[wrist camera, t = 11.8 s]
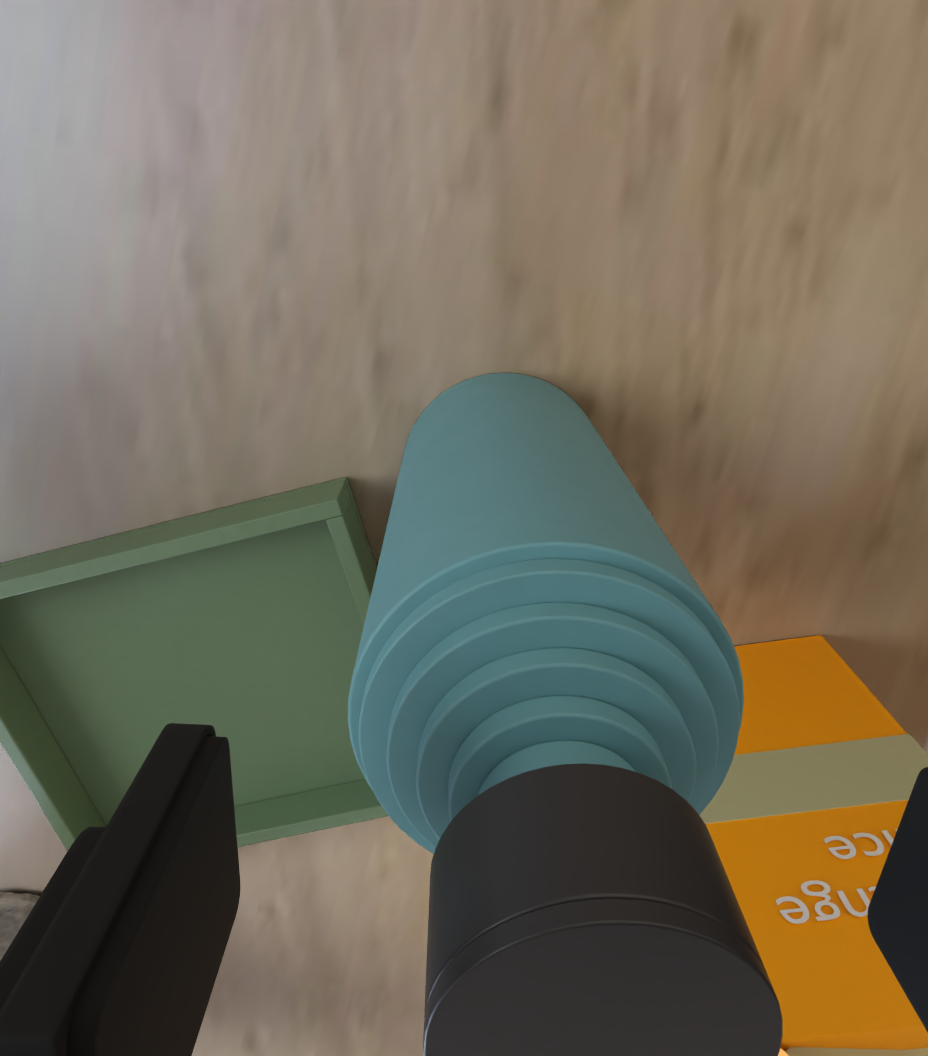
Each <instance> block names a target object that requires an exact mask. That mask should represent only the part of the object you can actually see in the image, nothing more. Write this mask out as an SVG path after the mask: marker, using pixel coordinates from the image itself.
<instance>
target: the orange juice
mask: <svg viewBox="0 0 928 1056" xmlns="http://www.w3.org/2000/svg"><path fill="white" fill-rule="evenodd" d="M734 648H735V650H736V653H737V655H738V658H739V663H740V668H741V672H742V677H743V691H744V705H743V714H742V723H741V727H740V731H739V735H738V742H737V746H736V750H735V753H734V757H733V761H732V764H731V766H730V768H729V770H728V773H727V775H726V777H725V779H724V782H723V783H722V785H721V786H720V788H719V790H718V791H717V793H716V794H715V796H714V798H713V799H712V800H711V802H710V803H709V804H708V805H707V807H706V808H705V809H704V810H703V812H702V813H701V814H700V817H701V818H702V820H703V821H704V823H705V824H706V826H707V829H708V831H709V833H710V835H711V838H712V840H713V842H714V845H715V847H716V850H717V852H718V855H719V857H720V860H721V862H722V864H723V867H724V869H725V872H726V874H727V877H728V879H729V881H730V884H731V886H732V889H733V891H734V894H735V896H736V899H737V901H738V903H739V906H740V908H741V911H742V913H743V916H744V918H745V920H746V923H747V925H748V928H749V930H750V933H751V935H752V938H753V940H754V942H755V945H756V947H757V950H758V952H759V955H760V957H761V959H762V962H763V964H764V967H765V969H766V972H767V974H768V977H769V979H770V981H771V984H772V986H773V989H774V991H775V994H776V996H777V998H778V1001H779V1004H780V1009H781V1013H782V1018H783V1037H782V1042H781V1047H780V1052H779V1054H778V1056H928V1032H927V1031H926V1029H925V1027H924V1025H923V1024H922V1022H921V1020H920V1018H919V1017H918V1015H917V1013H916V1012H915V1010H914V1008H913V1006H912V1005H911V1003H910V1001H909V999H908V998H907V996H906V994H905V992H904V991H903V989H902V987H901V986H900V984H899V982H898V980H897V979H896V977H895V975H894V973H893V972H892V970H891V968H890V966H889V965H888V963H887V961H886V960H885V958H884V956H883V954H882V953H881V951H880V949H879V947H878V946H877V944H876V942H875V941H874V939H873V936H872V934H871V932H870V928H869V925H868V907H869V904H870V901H871V899H872V896H873V893H874V891H875V888H876V885H877V883H878V880H879V877H880V875H881V872H882V869H883V867H884V864H885V861H886V859H887V856H888V853H889V851H890V848H891V845H892V843H893V840H894V837H895V835H896V832H897V829H898V827H899V824H900V821H901V819H902V816H903V813H904V811H905V808H906V805H907V803H908V800H909V797H910V795H911V792H912V789H913V787H914V784H915V782H916V779H917V776H918V774H919V772H920V771H921V770H922V769H923V768H925V767H928V754H927V753H926V752H925V751H924V749H923V748H922V747H921V746H920V745H919V744H918V743H917V742H916V740H915V739H914V738H913V737H912V736H911V735H910V734H907V733H906V732H905V731H904V729H903V728H902V727H901V726H900V725H899V724H898V722H897V721H896V720H895V719H894V718H893V717H892V716H891V714H890V713H889V712H888V711H887V710H886V709H885V708H884V706H883V705H882V704H881V703H880V702H879V701H878V700H877V698H876V697H875V696H874V695H873V694H872V693H871V692H870V690H869V689H868V688H867V687H866V686H865V685H864V684H863V682H862V681H861V680H860V679H859V678H858V677H857V675H856V674H855V673H854V672H853V671H852V670H851V669H850V667H849V666H848V665H847V664H846V663H845V662H844V661H843V659H842V658H841V657H840V656H839V655H838V654H837V653H836V651H835V650H834V649H833V648H832V647H831V646H830V645H829V643H828V642H827V641H826V640H825V639H824V638H823V636H822V635H817V636H809V637H802V638H794V639H786V640H779V641H771V642H763V643H755V644H748V645H740V646H734Z"/></svg>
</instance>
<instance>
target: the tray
mask: <svg viewBox="0 0 928 1056" xmlns="http://www.w3.org/2000/svg"><path fill="white" fill-rule="evenodd" d="M376 571H377V565H376V562H375V559H374V556H373V553H372V550H371V547H370V544H369V541H368V538H367V535H366V532H365V529H364V526H363V523H362V520H361V517H360V514H359V511H358V508H357V505H356V503H355V500H354V497H353V494H352V491H351V488H350V485H349V482H348V479H347V477H343V478H339V479H335V480H331V481H327V482H323V483H319V484H315V485H311V486H307V487H303V488H299V489H295V490H291V491H287V492H283V493H279V494H275V495H271V496H267V497H263V498H259V499H255V500H251V501H247V502H243V503H239V504H235V505H231V506H227V507H223V508H219V509H215V510H211V511H207V512H203V513H199V514H195V515H191V516H187V517H183V518H179V519H175V520H171V521H167V522H163V523H159V524H155V525H151V526H147V527H143V528H139V529H135V530H131V531H127V532H123V533H119V534H115V535H111V536H107V537H103V538H99V539H95V540H91V541H87V542H83V543H79V544H75V545H71V546H67V547H63V548H59V549H55V550H51V551H47V552H43V553H39V554H35V555H31V556H27V557H23V558H19V559H15V560H11V561H7V562H3V563H0V743H1V745H2V746H3V748H4V749H5V751H6V753H7V754H8V756H9V758H10V759H11V761H12V762H13V764H14V766H15V767H16V769H17V770H18V772H19V774H20V775H21V777H22V778H23V780H24V782H25V783H26V785H27V787H28V788H29V790H30V791H31V793H32V795H33V796H34V798H35V799H36V801H37V803H38V804H39V806H40V807H41V809H42V811H43V812H44V814H45V815H46V817H47V819H48V820H49V822H50V824H51V825H52V827H53V828H54V830H55V832H56V833H57V835H58V836H59V838H60V840H61V841H62V843H63V844H64V846H65V848H66V849H67V851H68V850H69V849H70V847H71V845H72V844H73V842H74V841H75V840H76V838H77V837H78V836H79V834H80V833H81V832H82V831H84V830H85V829H86V828H88V827H107V825H108V823H109V821H110V820H111V818H112V816H113V815H114V813H115V811H116V809H117V808H118V806H119V804H120V802H121V801H122V799H123V797H124V795H125V794H126V792H127V790H128V789H129V787H130V785H131V783H132V782H133V780H134V778H135V776H136V775H137V773H138V771H139V770H140V768H141V766H142V764H143V763H144V761H145V759H146V757H147V756H148V754H149V752H150V750H151V749H152V747H153V745H154V744H155V742H156V740H157V738H158V737H159V735H160V733H161V731H162V730H163V728H164V727H165V726H166V725H167V724H169V723H178V724H201V725H212V726H213V727H214V729H215V732H216V737H227V738H228V741H229V747H230V760H231V772H232V785H233V798H234V811H235V823H236V836H237V847H240V846H244V845H249V844H254V843H259V842H264V841H269V840H274V839H279V838H283V837H288V836H293V835H298V834H303V833H308V832H313V831H317V830H322V829H327V828H332V827H337V826H342V825H347V824H351V823H356V822H361V821H366V820H371V819H376V818H381V817H385V816H388V814H387V813H386V812H385V810H384V809H383V807H382V806H381V804H380V803H379V801H378V800H377V798H376V796H375V794H374V792H373V790H372V789H371V787H370V786H369V784H368V783H367V781H366V779H365V777H364V775H363V773H362V771H361V769H360V767H359V765H358V763H357V760H356V757H355V754H354V750H353V747H352V744H351V740H350V733H349V726H348V697H349V691H350V686H351V680H352V675H353V671H354V667H355V662H356V658H357V654H358V649H359V645H360V641H361V636H362V632H363V628H364V623H365V619H366V614H367V610H368V606H369V601H370V597H371V593H372V588H373V584H374V580H375V575H376Z"/></svg>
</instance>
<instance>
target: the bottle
mask: <svg viewBox="0 0 928 1056" xmlns="http://www.w3.org/2000/svg"><path fill="white" fill-rule="evenodd" d="M743 705H744V691H743V677H742V672H741V668H740V663H739V658H738V655H737V653H736V650H735V648H734V645H733V643H732V640H731V637H730V636H729V634H728V632H727V631H726V629H725V627H724V625H723V624H722V622H721V620H720V619H719V617H718V615H717V614H716V612H715V611H714V609H713V608H712V606H711V605H710V603H709V602H708V600H707V599H706V597H705V596H704V594H703V593H702V591H701V590H700V588H699V586H698V585H697V583H696V582H695V580H694V579H693V577H692V576H691V574H690V573H689V571H688V570H687V568H686V567H685V565H684V564H683V562H682V561H681V559H680V557H679V556H678V554H677V553H676V551H675V550H674V548H673V547H672V545H671V544H670V542H669V541H668V539H667V538H666V536H665V535H664V533H663V531H662V530H661V528H660V527H659V525H658V524H657V522H656V521H655V519H654V518H653V516H652V515H651V513H650V512H649V510H648V509H647V507H646V506H645V504H644V502H643V501H642V499H641V498H640V496H639V495H638V493H637V492H636V490H635V489H634V487H633V486H632V484H631V483H630V481H629V480H628V478H627V477H626V475H625V473H624V472H623V470H622V469H621V467H620V466H619V464H618V463H617V461H616V460H615V458H614V457H613V455H612V454H611V452H610V451H609V449H608V448H607V446H606V444H605V443H604V441H603V440H602V438H601V437H600V435H599V434H598V432H597V431H596V429H595V428H594V426H593V425H592V423H591V422H590V420H589V419H588V417H587V415H586V414H585V413H584V411H583V410H582V409H581V408H580V407H579V405H578V404H577V403H576V402H575V401H574V400H573V399H572V398H571V397H569V396H568V395H567V394H566V393H564V392H563V391H562V390H560V389H559V388H557V387H555V386H553V385H552V384H550V383H548V382H546V381H543V380H540V379H538V378H535V377H532V376H527V375H522V374H515V373H492V374H486V375H481V376H477V377H474V378H471V379H467V380H465V381H463V382H460V383H458V384H456V385H454V386H452V387H451V388H449V389H448V390H446V391H445V392H443V393H442V394H440V395H439V396H438V397H437V398H436V399H434V400H433V401H432V402H431V403H430V404H429V405H428V406H427V408H426V409H425V410H424V411H423V412H422V413H421V415H420V416H419V418H418V419H417V421H416V422H415V424H414V426H413V428H412V430H411V432H410V434H409V437H408V440H407V443H406V446H405V449H404V454H403V458H402V462H401V467H400V471H399V475H398V480H397V484H396V488H395V493H394V497H393V502H392V506H391V510H390V515H389V519H388V523H387V528H386V532H385V536H384V541H383V545H382V549H381V554H380V558H379V562H378V567H377V571H376V575H375V580H374V584H373V588H372V593H371V597H370V601H369V606H368V610H367V614H366V619H365V623H364V628H363V632H362V636H361V641H360V645H359V649H358V654H357V658H356V662H355V667H354V671H353V675H352V680H351V686H350V691H349V697H348V726H349V733H350V740H351V744H352V747H353V750H354V754H355V757H356V760H357V763H358V765H359V767H360V769H361V771H362V773H363V775H364V777H365V779H366V781H367V783H368V784H369V786H370V787H371V789H372V790H373V792H374V794H375V796H376V798H377V800H378V801H379V803H380V804H381V806H382V807H383V809H384V810H385V812H386V813H387V814H388V816H389V817H390V818H391V819H392V820H393V821H394V822H395V823H396V824H397V826H398V827H399V828H400V829H401V830H402V831H403V832H405V833H406V834H407V835H408V836H409V837H411V838H412V839H413V840H414V841H415V842H416V843H418V844H419V845H421V846H422V847H424V848H425V849H427V850H428V851H430V852H431V853H433V854H434V852H435V849H436V846H437V844H438V842H439V840H440V838H441V836H442V834H443V832H444V831H445V829H446V828H447V826H448V825H449V823H450V822H451V820H452V819H453V818H454V817H455V816H456V815H457V814H458V813H459V811H460V810H461V809H462V808H463V807H464V806H466V805H467V804H468V803H469V802H470V801H471V800H473V799H474V798H475V797H476V796H478V795H479V794H481V793H482V792H484V791H485V790H487V789H488V788H490V787H492V786H494V785H496V784H498V783H500V782H502V781H504V780H506V779H508V778H510V777H513V776H516V775H518V774H521V773H524V772H527V771H531V770H535V769H539V768H543V767H548V766H555V765H562V764H581V763H586V764H601V765H609V766H614V767H620V768H625V769H628V770H631V771H635V772H638V773H641V774H644V775H646V776H648V777H651V778H653V779H655V780H658V781H659V782H661V783H663V784H664V785H666V786H668V787H669V788H671V789H673V790H674V791H675V792H676V793H678V794H679V795H680V796H681V797H683V798H684V799H685V800H686V801H687V802H688V803H689V804H690V805H691V806H692V807H693V808H694V809H695V810H696V811H697V812H698V814H699V815H700V814H701V813H702V812H703V810H704V809H705V808H706V807H707V805H708V804H709V803H710V802H711V800H712V799H713V798H714V796H715V794H716V793H717V791H718V790H719V788H720V786H721V785H722V783H723V782H724V779H725V777H726V775H727V773H728V770H729V768H730V766H731V764H732V761H733V757H734V753H735V750H736V746H737V742H738V735H739V731H740V727H741V723H742V714H743Z"/></svg>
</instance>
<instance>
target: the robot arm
mask: <svg viewBox="0 0 928 1056" xmlns="http://www.w3.org/2000/svg"><path fill="white" fill-rule="evenodd" d="M239 897H240V874H239V862H238V849H237V836H236V823H235V811H234V798H233V785H232V772H231V760H230V747H229V741H228V738H227V737H216V732H215V729H214V727H213V726H212V725H201V724H178V723H169V724H167V725H166V726H165V727H164V728H163V730H162V731H161V733H160V735H159V737H158V738H157V740H156V742H155V744H154V745H153V747H152V749H151V750H150V752H149V754H148V756H147V757H146V759H145V761H144V763H143V764H142V766H141V768H140V770H139V771H138V773H137V775H136V776H135V778H134V780H133V782H132V783H131V785H130V787H129V789H128V790H127V792H126V794H125V795H124V797H123V799H122V801H121V802H120V804H119V806H118V808H117V809H116V811H115V813H114V815H113V816H112V818H111V820H110V821H109V823H108V825H107V827H88V828H86V829H85V830H84V831H82V832H81V833H80V834H79V836H78V837H77V838H76V840H75V841H74V842H73V844H72V845H71V847H70V849H69V850H68V852H67V853H66V855H65V857H64V858H63V860H62V862H61V863H60V865H59V866H58V868H57V870H56V871H55V873H54V875H53V876H52V878H51V879H50V881H49V883H48V884H47V886H46V888H45V889H44V891H43V892H42V894H41V896H40V897H39V899H38V901H37V902H36V904H35V905H34V907H33V909H32V910H31V912H30V914H29V915H28V917H27V918H26V920H25V922H24V923H23V925H22V927H21V928H20V930H19V931H18V933H17V935H16V936H15V938H14V939H13V941H12V943H11V944H10V946H9V948H8V949H7V951H6V952H5V954H4V956H3V957H2V959H1V961H0V1056H191V1055H192V1052H193V1049H194V1046H195V1043H196V1039H197V1036H198V1033H199V1030H200V1027H201V1024H202V1021H203V1017H204V1014H205V1011H206V1008H207V1005H208V1002H209V999H210V995H211V992H212V989H213V986H214V983H215V980H216V977H217V973H218V970H219V967H220V964H221V961H222V958H223V955H224V951H225V948H226V945H227V942H228V939H229V936H230V933H231V929H232V926H233V923H234V920H235V917H236V913H237V909H238V904H239ZM868 925H869V928H870V932H871V934H872V936H873V939H874V941H875V942H876V944H877V946H878V947H879V949H880V951H881V953H882V954H883V956H884V958H885V960H886V961H887V963H888V965H889V966H890V968H891V970H892V972H893V973H894V975H895V977H896V979H897V980H898V982H899V984H900V986H901V987H902V989H903V991H904V992H905V994H906V996H907V998H908V999H909V1001H910V1003H911V1005H912V1006H913V1008H914V1010H915V1012H916V1013H917V1015H918V1017H919V1018H920V1020H921V1022H922V1024H923V1025H924V1027H925V1029H926V1031H927V1032H928V767H925V768H923V769H922V770H921V771H920V772H919V774H918V776H917V779H916V782H915V784H914V787H913V789H912V792H911V795H910V797H909V800H908V803H907V805H906V808H905V811H904V813H903V816H902V819H901V821H900V824H899V827H898V829H897V832H896V835H895V837H894V840H893V843H892V845H891V848H890V851H889V853H888V856H887V859H886V861H885V864H884V867H883V869H882V872H881V875H880V877H879V880H878V883H877V885H876V888H875V891H874V893H873V896H872V899H871V901H870V904H869V907H868Z"/></svg>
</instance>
